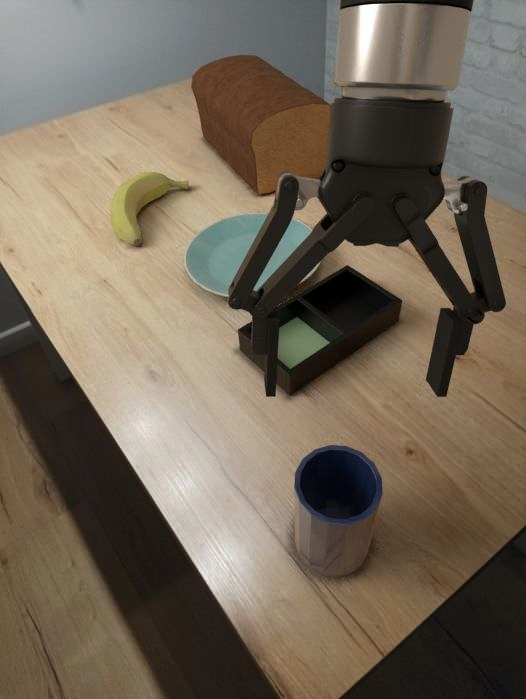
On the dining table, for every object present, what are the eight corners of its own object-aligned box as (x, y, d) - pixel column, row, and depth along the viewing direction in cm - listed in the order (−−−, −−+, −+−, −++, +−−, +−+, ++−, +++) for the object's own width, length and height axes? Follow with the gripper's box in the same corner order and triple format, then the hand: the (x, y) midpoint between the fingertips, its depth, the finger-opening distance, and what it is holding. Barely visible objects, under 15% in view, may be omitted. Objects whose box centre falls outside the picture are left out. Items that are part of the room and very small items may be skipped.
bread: (268, 120, 121) (265, 43, 109) (335, 175, 102) (340, 90, 90) (196, 138, 116) (185, 60, 104) (253, 200, 97) (247, 113, 85)
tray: (398, 321, 73) (402, 300, 70) (290, 396, 65) (289, 375, 62) (345, 285, 79) (347, 264, 76) (239, 350, 71) (237, 329, 68)
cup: (383, 544, 52) (401, 487, 43) (330, 593, 49) (337, 543, 40) (332, 492, 56) (338, 430, 47) (280, 535, 53) (276, 477, 44)
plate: (178, 313, 77) (175, 299, 75) (193, 228, 92) (190, 214, 90) (327, 308, 76) (328, 294, 74) (318, 223, 91) (318, 209, 89)
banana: (83, 187, 89) (171, 156, 100) (84, 213, 93) (169, 180, 105) (134, 232, 85) (220, 194, 97) (133, 257, 89) (215, 218, 101)
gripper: (552, 100, 36) (483, 366, 46) (194, 87, 35) (201, 364, 44) (625, 104, 29) (526, 414, 39) (185, 87, 28) (195, 414, 38)
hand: (353, 388), depth 42 cm, fingers open, 13 cm apart
